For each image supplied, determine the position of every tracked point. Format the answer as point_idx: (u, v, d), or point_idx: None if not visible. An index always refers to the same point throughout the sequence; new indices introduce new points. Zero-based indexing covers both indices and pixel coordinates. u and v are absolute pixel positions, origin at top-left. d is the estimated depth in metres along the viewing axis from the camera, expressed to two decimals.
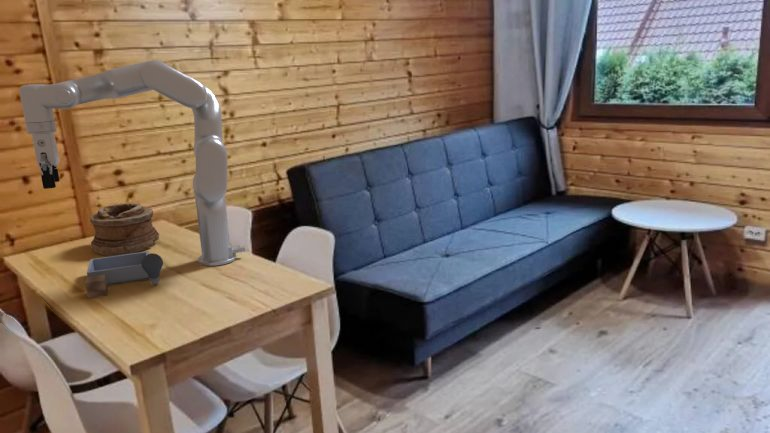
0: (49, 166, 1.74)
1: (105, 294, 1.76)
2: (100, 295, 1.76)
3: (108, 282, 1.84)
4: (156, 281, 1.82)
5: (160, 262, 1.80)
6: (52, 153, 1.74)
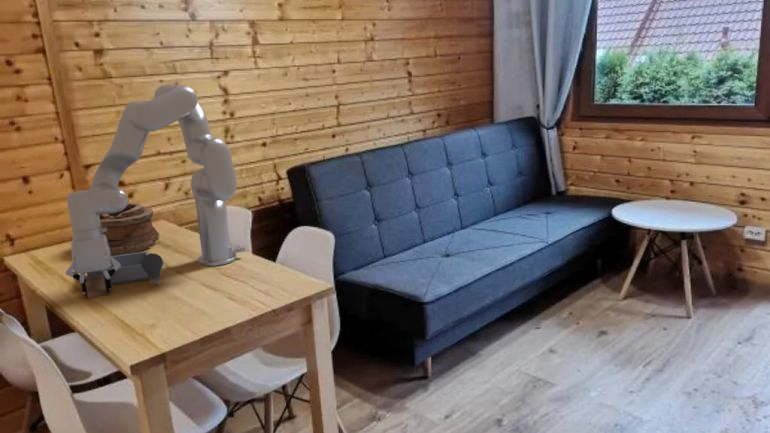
0: (107, 269, 1.78)
1: (105, 294, 1.76)
2: (100, 295, 1.76)
3: None
4: (156, 281, 1.82)
5: (160, 262, 1.80)
6: None
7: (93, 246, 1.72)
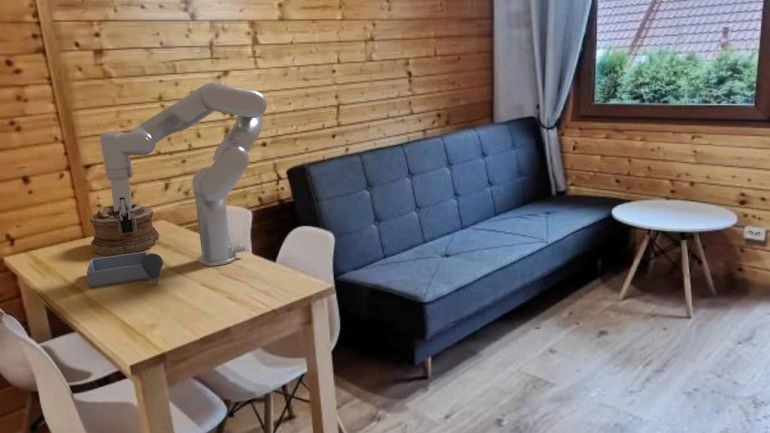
0: None
1: (136, 227, 1.92)
2: (136, 228, 1.90)
3: (108, 282, 1.84)
4: (156, 281, 1.82)
5: (160, 262, 1.80)
6: None
7: (129, 182, 1.87)
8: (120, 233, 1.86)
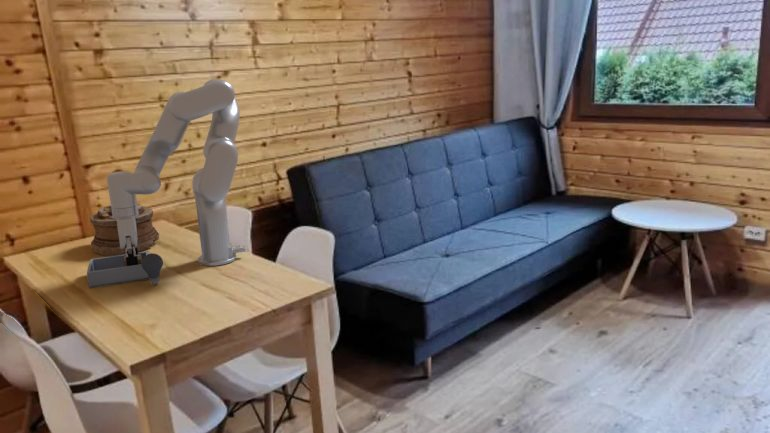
0: None
1: None
2: None
3: (108, 282, 1.84)
4: (156, 281, 1.82)
5: (160, 262, 1.80)
6: None
7: None
8: None
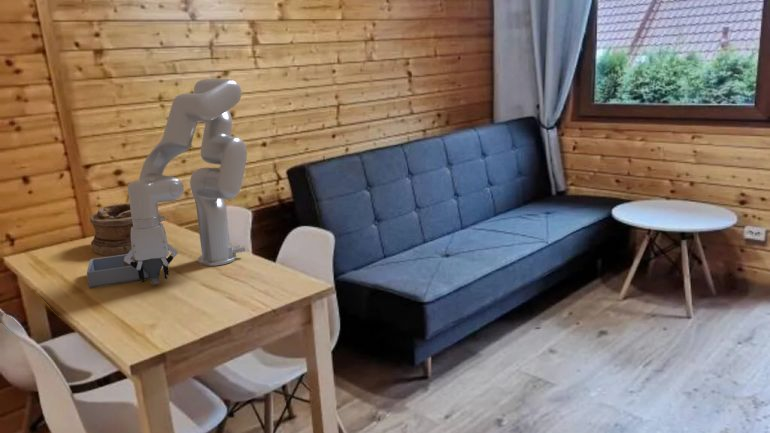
0: None
1: None
2: None
3: (108, 282, 1.84)
4: (156, 281, 1.82)
5: (160, 262, 1.80)
6: None
7: (152, 234, 1.77)
8: None
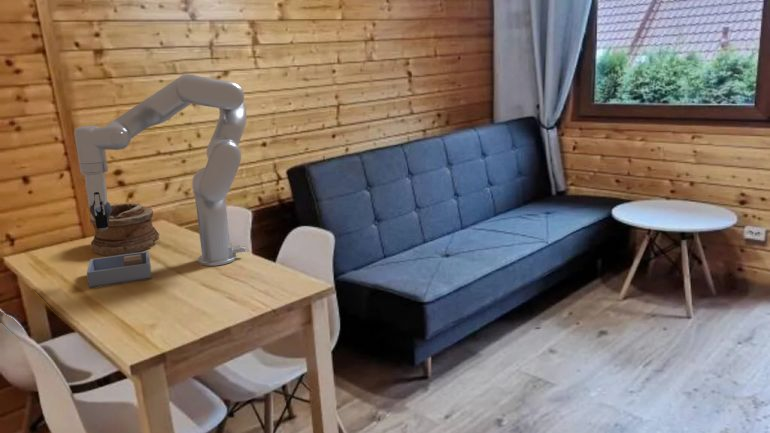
0: None
1: None
2: None
3: (108, 282, 1.84)
4: None
5: None
6: None
7: None
8: None
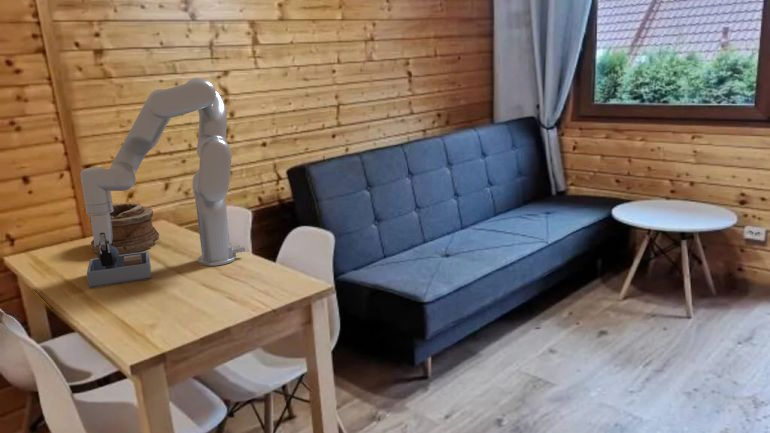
0: None
1: None
2: None
3: (108, 282, 1.84)
4: None
5: None
6: None
7: None
8: None
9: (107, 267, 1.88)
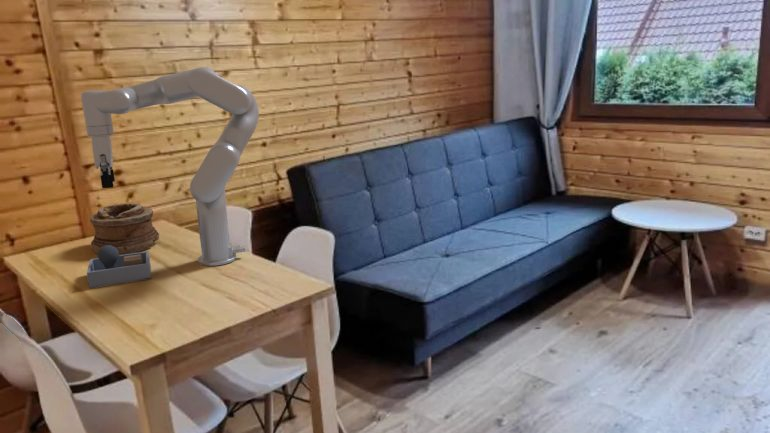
0: None
1: None
2: None
3: (108, 282, 1.84)
4: None
5: None
6: None
7: None
8: None
9: (107, 267, 1.88)
